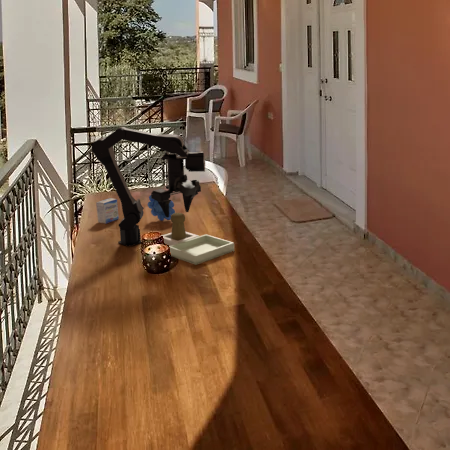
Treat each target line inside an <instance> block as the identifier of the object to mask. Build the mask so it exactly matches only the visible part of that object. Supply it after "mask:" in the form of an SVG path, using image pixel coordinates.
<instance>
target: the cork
mask: <svg viewBox="0 0 450 450" xmlns="http://www.w3.org/2000/svg"><path fill="white" fill-rule="evenodd" d="M185 221H186V215H185V214H184V213H182V212H175V213H174V214H172V215H171V220H170V222H171V223H172V224H171V232H172V234H171V239H174V240H177V241H179V240H182V239H185V238H186V232H187V231H186V228H185Z"/></svg>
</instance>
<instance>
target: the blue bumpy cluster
mask: <svg viewBox="0 0 450 450" xmlns="http://www.w3.org/2000/svg"><path fill="white" fill-rule="evenodd" d="M148 200H149V201H147V207H148V208H149V209H150V214H151V215H152V216H154V217H157V219H158V220H159V221H162V222H163V221H164V220H166V221H171V215H172V214H174V213H176V211H175V209H174V207H175V203H174V201H173V200H171V201H170V203H169V217H168V218H167V217H166V216H165V214H164V212H163V210H162V208H161V206H160V205H159V203H158V202H157V201H156V200H154V199H152V198H151V194H150V195H149V196H148Z"/></svg>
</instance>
